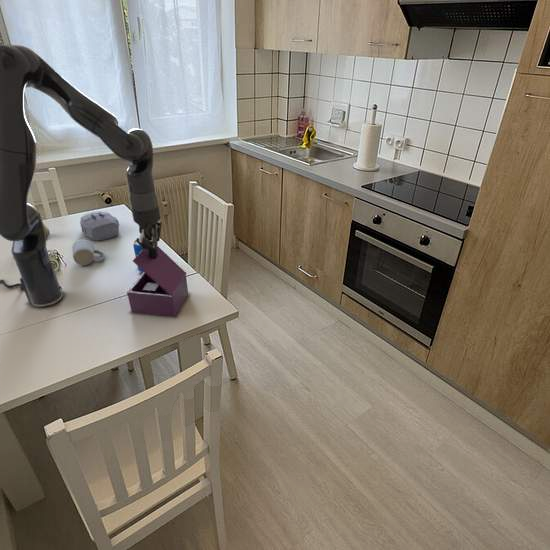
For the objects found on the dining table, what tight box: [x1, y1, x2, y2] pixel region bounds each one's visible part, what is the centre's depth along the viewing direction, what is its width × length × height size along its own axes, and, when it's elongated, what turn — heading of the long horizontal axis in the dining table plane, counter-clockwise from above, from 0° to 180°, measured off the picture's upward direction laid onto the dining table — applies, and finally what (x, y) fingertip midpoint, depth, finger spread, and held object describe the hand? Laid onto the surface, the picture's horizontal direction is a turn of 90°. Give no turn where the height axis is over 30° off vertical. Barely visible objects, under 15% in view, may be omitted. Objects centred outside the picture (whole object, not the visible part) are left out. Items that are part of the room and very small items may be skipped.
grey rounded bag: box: [79, 210, 120, 241], centre depth 171 cm, size 15×8×20 cm
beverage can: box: [132, 239, 144, 274], centre depth 144 cm, size 6×6×12 cm
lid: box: [132, 245, 187, 296], centre depth 122 cm, size 15×13×1 cm
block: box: [142, 283, 162, 294], centre depth 128 cm, size 4×4×5 cm
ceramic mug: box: [71, 239, 105, 266], centre depth 150 cm, size 11×8×8 cm
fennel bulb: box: [35, 209, 50, 238], centre depth 165 cm, size 6×5×12 cm
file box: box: [126, 272, 189, 318], centre depth 127 cm, size 15×13×8 cm
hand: (154, 257), depth 120 cm, fingers closed
